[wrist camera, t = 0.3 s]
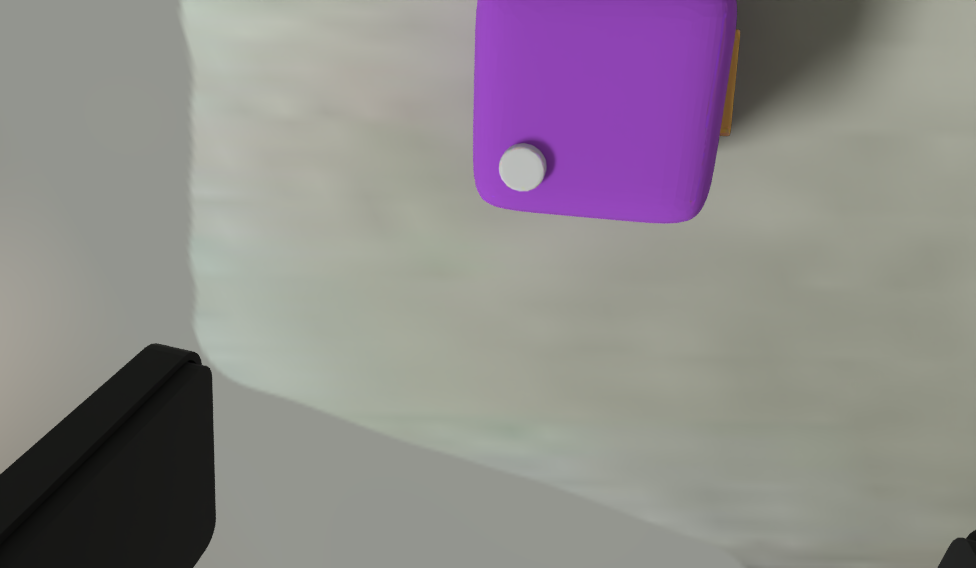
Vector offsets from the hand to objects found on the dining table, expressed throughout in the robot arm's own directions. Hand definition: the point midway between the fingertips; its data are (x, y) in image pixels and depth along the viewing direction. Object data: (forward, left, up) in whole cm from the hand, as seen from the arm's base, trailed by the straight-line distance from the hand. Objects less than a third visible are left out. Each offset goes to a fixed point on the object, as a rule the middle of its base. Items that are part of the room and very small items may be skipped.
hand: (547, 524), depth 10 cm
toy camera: (-2, -1, -31) cm, 31 cm away
